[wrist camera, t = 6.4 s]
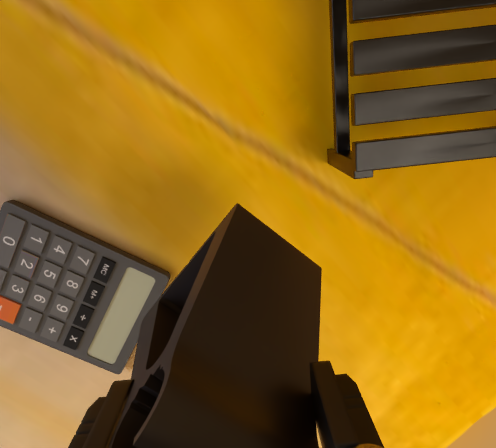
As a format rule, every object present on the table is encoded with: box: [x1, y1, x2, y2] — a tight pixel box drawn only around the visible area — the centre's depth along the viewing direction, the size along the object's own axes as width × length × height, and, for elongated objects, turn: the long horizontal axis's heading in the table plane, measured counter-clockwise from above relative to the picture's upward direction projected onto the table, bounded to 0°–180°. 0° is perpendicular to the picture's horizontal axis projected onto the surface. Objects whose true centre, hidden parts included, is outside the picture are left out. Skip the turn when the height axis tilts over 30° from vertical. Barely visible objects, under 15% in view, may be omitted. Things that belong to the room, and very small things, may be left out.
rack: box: [327, 0, 496, 179], centre depth 24 cm, size 16×14×8 cm
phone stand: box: [108, 203, 322, 448], centre depth 15 cm, size 9×6×12 cm, turn 141°
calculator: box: [0, 200, 170, 374], centre depth 33 cm, size 12×1×15 cm
